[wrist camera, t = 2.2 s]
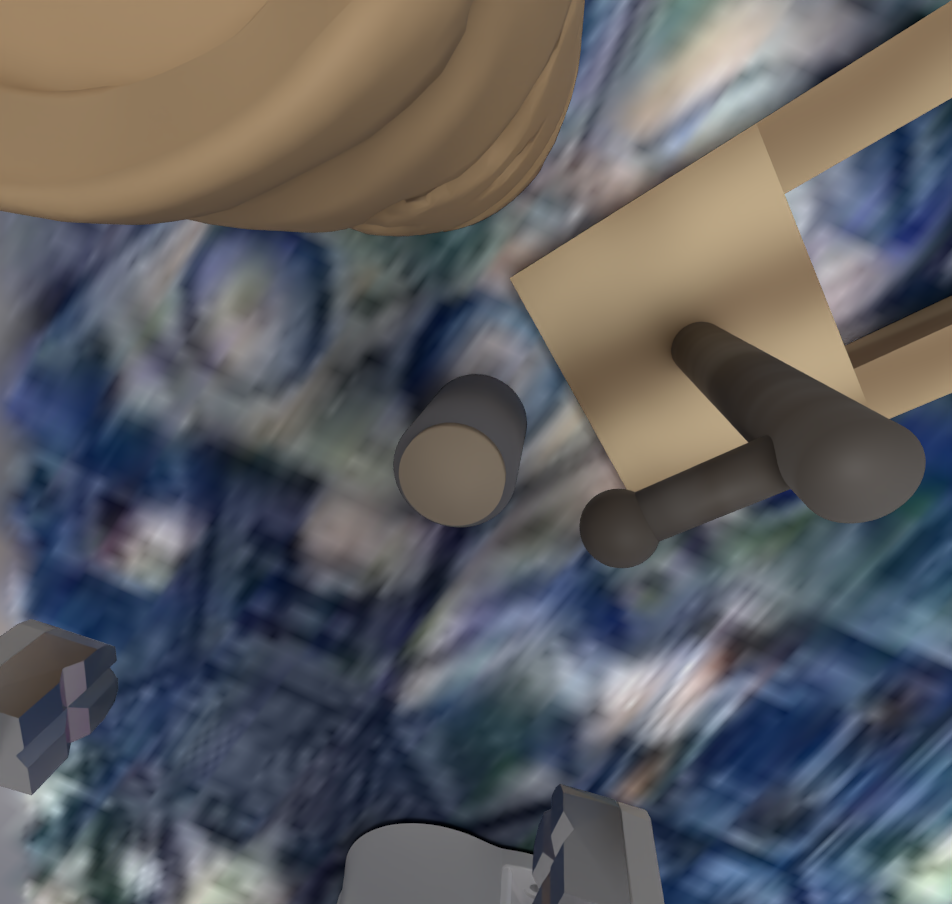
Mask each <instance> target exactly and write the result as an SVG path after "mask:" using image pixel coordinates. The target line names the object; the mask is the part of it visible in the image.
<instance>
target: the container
mask: <svg viewBox="0 0 952 904" xmlns="http://www.w3.org/2000/svg"><path fill="white" fill-rule="evenodd" d="M584 3H585V0H0V211H5V212H11V213H16V214H22V215H28V216H33V217H39V218H45V219H51V220H56V221H62V222H76V223H98V224H124V225H142V224H156V223H165V222H172V221H178V220H184V219H189V220H193V221H198V222H202V223H207V224H212V225H219V226H227V227H235V228H243V229H253V230H274V231H290V232H309V233H318V232H332V231H338V230H344V229H347V228H351V229H354V230H357V231H360V232H363V233H365V234H371V235H381V236H412V235H424V234H429V233H437V232H441V231H444V232H446V231H451V230H455V229H459V228H463V227H466V226H470V225H473V224H475V223H477V222H479V221H481V220H483V219H485V218H487V217H489V216H491V215H493V214H494V213H496V212H498V211H499V210H501V209H502V208H503V207H505V206H506V205H507V204H509V203H510V202H511V201H513V200H514V199H515V198H516V197H517V196H518V195H519V194H520V193H521V192H522V191H523V190H524V189H525V188H526V187H527V186H528V185H529V184H530V183H531V182H532V181H533V179H534V178H535V177H536V176H537V174H538V173H539V171H540V170H541V168H542V166H543V163H544V161H545V159H546V157H547V156H548V154H549V152H550V150H551V149H552V147H553V145H554V143H555V141H556V138H557V136H558V133H559V131H560V128H561V125H562V123H563V120H564V118H565V115H566V112H567V109H568V106H569V103H570V100H571V97H572V93H573V89H574V85H575V81H576V77H577V73H578V66H579V58H580V51H581V36H582V26H583V14H584Z"/></svg>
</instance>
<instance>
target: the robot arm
mask: <svg viewBox="0 0 952 904" xmlns="http://www.w3.org/2000/svg"><path fill="white" fill-rule="evenodd" d="M116 661H117V658H116V650H115V647H114V646H111V645H108V644H105V643H102V642H99V641H96V640H93V639H90V638H87V637H84V636H81V635H78V634H75V633H72V632H69V631H66V630H63V629H61V628H58V627H55V626H52V625H48V624H45V623H42V622H39V621H36V620H32V619H31V620H28V621H25V622H22V623H19V624H17V625H16V626H14V627H13V628H11V629H10V630H9V631H7V632H6V633H4V634H3V635H1V636H0V786H2V787H5V788H9V789H12V790H16V791H19V792H22V793H26V794H29V795H32V794H33V793H34V792H35V791H36V790H37V789H38V788H39V787H40V786H41V785H42V784H43V783H44V782H45V781H46V780H47V779H48V778H49V777H50V776H51V775H52V774H53V773H54V772H55V770H56V769H57V768H58V767H59V766H60V765H61V764H62V763H63V762H64V761H65V760H66V759H67V758H68V755H69V750H70V745H71V742H74V741H76V740H78V739H80V738H82V737H84V736H87V735H89V734H91V733H92V732H93V730H94V729H95V728H96V727H97V726H98V725H99V724H100V723H101V722H102V721H103V720H104V718H105V717H106V715H107V713H108V712H109V710H110V708H111V707H112V705H113V703H114V702H115V698H116V695H117V691H118V678H117V677H116V675H115V674H114V673H113V671H112V670H111V669H110V667H111V666H112V665H113V664H114V663H115V662H116ZM337 904H664V898H663V892H662V886H661V880H660V874H659V867H658V861H657V855H656V849H655V843H654V837H653V831H652V825H651V819H650V817H649V815H648V813H647V811H646V810H644V809H641V808H637V807H634V806H630V805H627V804H623V803H620V802H616V801H615V800H614V799H610V798H607V797H604V796H600V795H597V794H593V793H590V792H586V791H583V790H580V789H576V788H573V787H569V786H566V785H562V784H559V785H558V786H557V787H556V788H555V790H554V792H553V795H552V806H551V809H550V810H548V811H546V812H544V814H543V816H542V819H541V821H540V823H539V826H538V830H537V835H536V839H535V844H534V853H533V855H532V854H528V853H524V852H519V851H513V850H507V849H502V848H499V847H496V846H494V845H491V844H489V843H487V842H485V841H482V840H480V839H478V838H476V837H474V836H471V835H469V834H466V833H463V832H460V831H457V830H454V829H450V828H446V827H442V826H436V825H430V824H419V823H404V824H394V825H388V826H384V827H380V828H377V829H375V830H372V831H370V832H368V833H366V834H364V835H363V836H361V837H360V838H359V839H358V840H357V841H356V842H355V843H354V844H353V845H352V846H351V848H350V850H349V852H348V854H347V857H346V864H345V873H344V881H343V888H342V891H341V893H340V895H339V897H338V901H337Z"/></svg>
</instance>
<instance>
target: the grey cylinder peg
mask: <svg viewBox="0 0 952 904" xmlns="http://www.w3.org/2000/svg"><path fill="white" fill-rule="evenodd" d="M526 428H527V418H526V413H525V409H524V407H523V404H522V402H521V400H520V399H519V397H518V396H517V394H516V393H515V392H514V391H513V390H512V389H511V388H510V387H509V386H508V385H506V384H505V383H503V382H502V381H500V380H498V379H496V378H493V377H490V376H486V375H477V374H475V375H466V376H462V377H459V378H456V379H454V380H452V381H451V382H449V383H448V384H446V385H445V386H444V387H443V388H442V389H441V390H440V391H439V392H438V394H437V395H436V396H435V397H434V398H433V400H432V401H431V402H430V403H429V404H428V406H427V407H426V408H425V409H424V410H423V412H422V413H421V414H420V415H419V416H418V418H417V419H416V420H415V421H414V422H413V424H412V425H411V426H410V427H409V428H408V430H407V431H406V432H405V433H404V434H403V436H402V437H401V439H400V441H399V443H398V445H397V447H396V451H395V454H394V462H393V467H394V476H395V480H396V483H397V486H398V488H399V490H400V492H401V494H402V496H403V497H404V499H405V500H406V501H407V502H408V504H409V505H410V506H411V507H412V508H413V509H414V510H415V511H417V512H418V513H419V514H420V515H422V516H424V517H425V518H427V519H429V520H431V521H433V522H435V523H438V524H441V525H445V526H451V527H469V526H475V525H479V524H481V523H484V522H486V521H488V520H490V519H492V518H493V517H495V516H496V515H497V514H499V513H500V512H501V511H502V510H503V509H504V508H505V506H506V505H507V504H508V502H509V500H510V499H511V497H512V494H513V492H514V489H515V485H516V480H517V475H518V470H519V465H520V460H521V455H522V449H523V444H524V439H525V434H526Z"/></svg>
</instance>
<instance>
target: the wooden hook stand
mask: <svg viewBox="0 0 952 904" xmlns="http://www.w3.org/2000/svg"><path fill="white" fill-rule="evenodd" d="M950 98H952V1H950V2H948V3H947V4H945V5H944V6H942V7H941V8H939V9H937V10H936V11H934V12H933V13H931V14H929V15H928V16H926V17H925V18H923V19H921V20H920V21H918V22H917V23H915V24H913V25H912V26H910V27H909V28H907V29H905V30H904V31H902V32H901V33H899V34H897V35H896V36H894V37H893V38H891V39H890V40H888V41H886V42H885V43H883V44H882V45H880V46H878V47H877V48H875V49H874V50H872V51H870V52H869V53H867V54H866V55H864V56H862V57H861V58H859V59H858V60H856V61H855V62H853V63H851V64H850V65H848V66H847V67H845V68H843V69H842V70H840V71H839V72H837V73H835V74H834V75H832V76H831V77H829V78H827V79H826V80H824V81H823V82H821V83H819V84H818V85H816V86H815V87H813V88H812V89H810V90H808V91H807V92H805V93H804V94H802V95H800V96H799V97H797V98H796V99H794V100H792V101H791V102H789V103H788V104H786V105H784V106H783V107H781V108H780V109H778V110H777V111H775V112H773V113H772V114H770V115H769V116H767V117H765V118H764V119H762V120H761V121H759V122H757V123H756V124H754V125H753V126H751V127H749V128H748V129H746V130H745V131H743V132H741V133H740V134H738V135H737V136H735V137H734V138H732V139H730V140H729V141H727V142H726V143H724V144H722V145H721V146H719V147H718V148H716V149H714V150H713V151H711V152H710V153H708V154H706V155H705V156H703V157H702V158H700V159H699V160H697V161H695V162H694V163H692V164H691V165H689V166H687V167H686V168H684V169H683V170H681V171H679V172H678V173H676V174H675V175H673V176H671V177H670V178H668V179H667V180H665V181H663V182H662V183H660V184H659V185H657V186H656V187H654V188H652V189H651V190H649V191H648V192H646V193H644V194H643V195H641V196H640V197H638V198H636V199H635V200H633V201H632V202H630V203H628V204H627V205H625V206H624V207H622V208H621V209H619V210H617V211H616V212H614V213H613V214H611V215H609V216H608V217H606V218H605V219H603V220H601V221H600V222H598V223H597V224H595V225H593V226H592V227H590V228H589V229H587V230H585V231H584V232H582V233H581V234H579V235H578V236H576V237H574V238H573V239H571V240H570V241H568V242H566V243H565V244H563V245H562V246H560V247H558V248H557V249H555V250H554V251H552V252H550V253H549V254H547V255H546V256H544V257H543V258H541V259H539V260H538V261H536V262H535V263H533V264H531V265H530V266H528V267H527V268H525V269H523V270H522V271H520V272H519V273H517V274H515V275H514V276H512V277H511V278H510V280H511V282H512V283H513V285H514V287H515V289H516V291H517V292H518V294H519V296H520V298H521V300H522V301H523V303H524V305H525V307H526V309H527V310H528V312H529V314H530V316H531V318H532V319H533V321H534V323H535V325H536V327H537V328H538V330H539V332H540V334H541V336H542V337H543V339H544V341H545V343H546V345H547V346H548V348H549V350H550V352H551V354H552V355H553V357H554V359H555V361H556V363H557V364H558V366H559V368H560V370H561V372H562V373H563V375H564V377H565V379H566V381H567V382H568V384H569V386H570V388H571V390H572V391H573V393H574V395H575V397H576V399H577V400H578V402H579V404H580V406H581V408H582V409H583V411H584V413H585V415H586V417H587V418H588V420H589V422H590V424H591V426H592V427H593V429H594V431H595V433H596V435H597V436H598V438H599V440H600V442H601V444H602V445H603V447H604V449H605V451H606V453H607V455H608V456H609V458H610V460H611V462H612V464H613V465H614V467H615V469H616V471H617V473H618V474H619V476H620V478H621V480H622V482H623V483H624V485H625V487H626V489H611V490H607V491H604V492H602V493H600V494H598V495H596V496H595V497H594V498H592V499H591V500H590V501H589V503H588V504H587V505H586V507H585V508H584V510H583V512H582V515H581V519H580V535H581V539H582V542H583V544H584V546H585V548H586V549H587V551H588V552H589V553H590V554H591V555H592V556H593V557H594V558H595V559H596V560H598V561H599V562H601V563H603V564H605V565H607V566H610V567H615V568H629V567H633V566H636V565H639V564H641V563H643V562H644V561H646V560H647V559H648V558H649V557H650V556H651V555H652V554H653V553H654V551H655V550H656V548H657V546H658V543H659V541H662V540H664V539H667V538H669V537H672V536H674V535H676V534H679V533H681V532H684V531H686V530H689V529H691V528H694V527H696V526H699V525H701V524H704V523H706V522H709V521H711V520H714V519H716V518H719V517H721V516H724V515H726V514H729V513H731V512H734V511H736V510H739V509H741V508H744V507H746V506H749V505H751V504H754V503H756V502H759V501H761V500H764V499H766V498H769V497H771V496H774V495H776V494H779V493H781V492H784V491H786V490H789V489H792V490H793V492H794V493H795V494H796V495H797V496H798V497H799V498H800V499H801V500H802V501H803V502H804V503H805V504H806V506H807V507H808V508H809V509H811V510H812V511H813V512H814V513H816V514H817V515H819V516H821V517H823V518H825V519H828V520H831V521H835V522H839V523H861V522H867V521H871V520H874V519H878V518H880V517H883V516H885V515H887V514H889V513H891V512H893V511H894V510H896V509H897V508H899V507H900V506H901V505H903V504H904V503H905V502H906V501H907V500H908V499H909V498H910V497H911V496H912V495H913V494H914V492H915V491H916V489H917V488H918V486H919V484H920V483H921V480H922V478H923V475H924V471H925V454H924V450H923V447H922V445H921V443H920V442H919V440H918V439H917V437H916V436H915V435H914V434H913V433H912V432H911V431H909V430H908V429H906V428H905V427H903V426H901V425H899V424H897V423H896V422H894V421H892V420H890V418H892V417H895V416H897V415H899V414H902V413H904V412H907V411H909V410H911V409H914V408H916V407H919V406H921V405H923V404H926V403H928V402H931V401H933V400H935V399H938V398H940V397H943V396H945V395H947V394H950V393H952V296H950V297H948V298H946V299H943V300H941V301H939V302H937V303H935V304H933V305H931V306H929V307H926V308H924V309H922V310H920V311H918V312H916V313H914V314H912V315H909V316H907V317H905V318H903V319H901V320H899V321H897V322H894V323H892V324H890V325H888V326H886V327H884V328H882V329H880V330H877V331H875V332H873V333H871V334H869V335H867V336H865V337H863V338H860V339H858V340H856V341H854V342H852V343H850V344H848V345H845V346H844V344H843V341H842V339H841V336H840V334H839V331H838V329H837V326H836V323H835V321H834V318H833V316H832V313H831V311H830V308H829V306H828V303H827V301H826V298H825V296H824V293H823V291H822V288H821V286H820V283H819V281H818V278H817V276H816V273H815V270H814V268H813V265H812V263H811V260H810V258H809V255H808V253H807V250H806V248H805V245H804V243H803V240H802V238H801V235H800V233H799V230H798V228H797V225H796V223H795V220H794V218H793V215H792V212H791V210H790V207H789V205H788V202H787V200H786V197H785V195H784V194H785V193H787V192H789V191H791V190H792V189H794V188H796V187H798V186H799V185H801V184H803V183H804V182H806V181H808V180H810V179H811V178H813V177H815V176H817V175H818V174H820V173H822V172H824V171H825V170H827V169H829V168H831V167H832V166H834V165H836V164H837V163H839V162H841V161H843V160H844V159H846V158H848V157H850V156H851V155H853V154H855V153H857V152H858V151H860V150H862V149H864V148H865V147H867V146H869V145H870V144H872V143H874V142H876V141H877V140H879V139H881V138H883V137H884V136H886V135H888V134H890V133H891V132H893V131H895V130H897V129H898V128H900V127H902V126H903V125H905V124H907V123H909V122H910V121H912V120H914V119H916V118H917V117H919V116H921V115H923V114H924V113H926V112H928V111H930V110H931V109H933V108H935V107H936V106H938V105H940V104H942V103H943V102H945V101H947V100H949V99H950Z"/></svg>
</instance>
